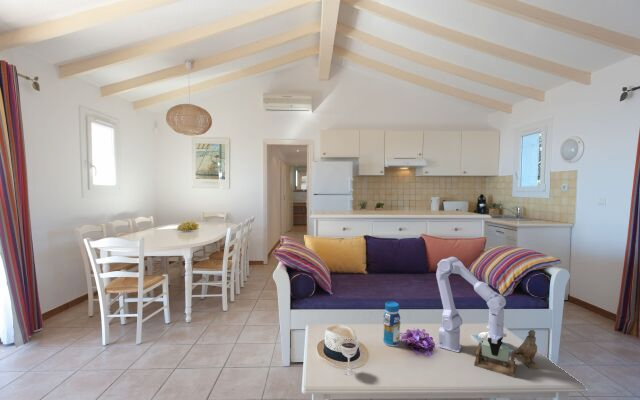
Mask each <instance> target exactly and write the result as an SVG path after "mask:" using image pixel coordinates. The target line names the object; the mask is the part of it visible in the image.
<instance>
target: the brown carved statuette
mask: <svg viewBox="0 0 640 400" xmlns="http://www.w3.org/2000/svg"><path fill="white" fill-rule="evenodd" d="M527 334H528V335H526V337H525V339H524V341H523V342H522V343H521V344H520V345H519V347H518V348H517V349H515V350H513V351H514V359H516V360H517V361H518V362H520V364H522V365H523V366H525V367H526V368H527V369H529V370H539V365H538V364H537V363H536V362H535V356H536V354H537V353H538V352H537V351H538V345H537V344H536V340H537V339H536V331H535V330H534V329H533V330H532V329H531V330H529V331H528V333H527Z"/></svg>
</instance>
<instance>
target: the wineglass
mask: <svg viewBox="0 0 640 400" xmlns="http://www.w3.org/2000/svg"><path fill="white" fill-rule="evenodd" d="M340 345H341V347H340V351H341V353H342V355H343V356H344V357H346V358H347V368H346V369H347V370H344V369H343V370H344V373H345V374H347V375H346V376H348V375H351V376H353V375H354V374H355V371H353V370H354V369H352V368H350V362H351V361H350V360H351V358H352V357H354V356H355V355H356V354H357V352H358V348H357V342H355V341H353V340H348V339H347V340H343V341H342V342H341V343H340ZM351 369H352V370H351ZM344 373H343V374H344ZM353 373H354V374H353ZM345 374H344V375H345ZM352 374H353V375H352Z"/></svg>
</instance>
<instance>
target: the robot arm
mask: <svg viewBox="0 0 640 400" xmlns="http://www.w3.org/2000/svg"><path fill="white" fill-rule="evenodd" d="M436 265H437V269H436V273H435V276H436V280H437V285H438V291H439V294H440V299H441V303H442V309H443V312H442V314H441V318H442V320H441V326H440V327H439V329H438V344H437V346H438V348H440V349H441V348H442V349H444V350H447V351H448V350H449V351H452V352H455V353H460V351H461V348H462V344H460V343H461V339H460V337H461V332H460V331H461V326H462V324H463V319H462V316H460V313H459V311H458V310H457V309H456V305H455V302H454V298H453V297H454V296H453V292H452V288H451V284H450V278H449V277H450V275H451V274H454V275H455V274H457V275H460V276H461V277H462V278H463V279H465V280H466V281H467V282H468V283H469V284H471V285H472V286H473V289H474V292H475V293H476V294H478V295H479V296H480V298H482V299H483V301H485V302H486V305H487V307H488V309H489V310H488V326H489V329H488V330H487V332H488V334H489V335H490V337H491V338H488V342H489V344H490V347H491V353H492V355H494V356H498V353H499V349H500V347H501V345H503V341H502V340H503V339H504V338H506V337H507V333H505V332H504V326H505V323H504V320H505V317H504V316H505V313H504V312H505V311H504V310H505V306H506V305H507V301H506V297H504V295H502V294H499V293H498V292H497V291H494V289H492V287H490V286H489V283H487V282H484V281H480V280H478V278H477V277H475V275H474V274H473V273H471V271H470V270H469V269H468V268H467V267H465V265H464V264H463V262H462V261H461V260H459V258H457V257H455V256H449V257H448V258H442V259H440V261H439V262H438V263H437V264H436Z"/></svg>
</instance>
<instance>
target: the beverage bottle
mask: <svg viewBox="0 0 640 400" xmlns="http://www.w3.org/2000/svg"><path fill="white" fill-rule="evenodd" d="M384 305H385V307H384V308H385V312H384V314H383V318H384V319H383V321H382V322H383V338H382V339H383V343H384V345H387V346H389V347H398V346H399V345H400V342H401V339H400V334H401V316H400V313H399V311H400V304H399V303H398V302H395V301H386V302H385V303H384Z"/></svg>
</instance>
